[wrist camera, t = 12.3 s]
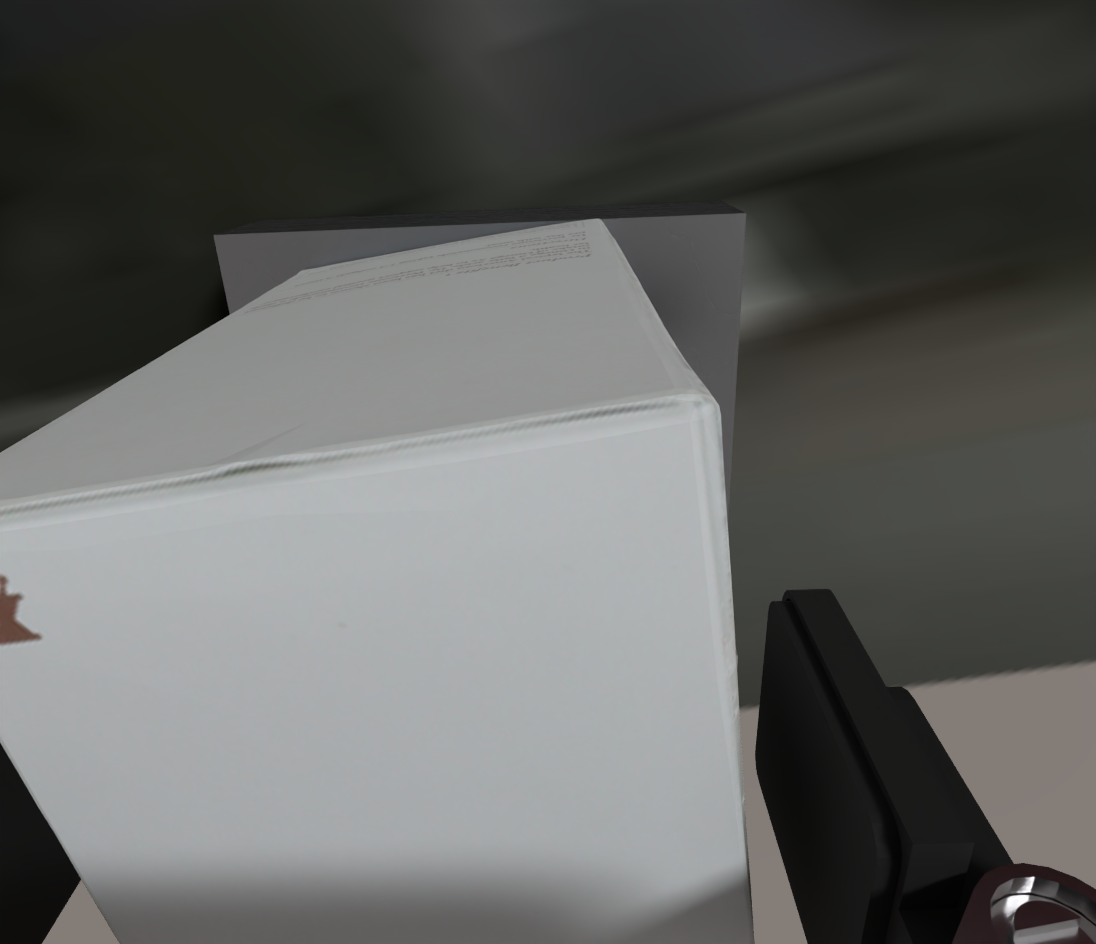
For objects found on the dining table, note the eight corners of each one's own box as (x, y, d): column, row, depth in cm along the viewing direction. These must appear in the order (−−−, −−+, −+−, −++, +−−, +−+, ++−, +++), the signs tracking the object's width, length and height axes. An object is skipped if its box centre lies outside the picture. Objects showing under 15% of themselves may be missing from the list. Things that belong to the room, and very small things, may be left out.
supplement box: (375, 543, 21) (151, 1057, 9) (295, 263, 18) (-173, 511, 6) (651, 505, 20) (770, 1001, 9) (615, 210, 17) (725, 379, 6)
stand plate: (259, 220, 21) (173, 247, 16) (720, 200, 20) (767, 223, 16) (329, 607, 25) (279, 713, 21) (702, 596, 25) (734, 702, 20)
